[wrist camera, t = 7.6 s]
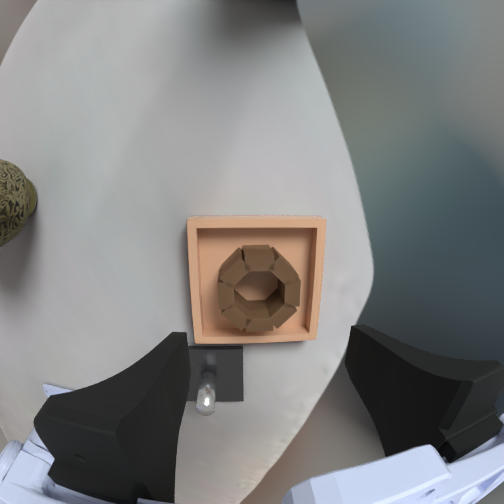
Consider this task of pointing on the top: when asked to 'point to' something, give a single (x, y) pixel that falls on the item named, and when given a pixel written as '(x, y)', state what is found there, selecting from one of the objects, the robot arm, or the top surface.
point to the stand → (215, 376)
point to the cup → (14, 200)
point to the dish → (254, 272)
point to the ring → (258, 311)
